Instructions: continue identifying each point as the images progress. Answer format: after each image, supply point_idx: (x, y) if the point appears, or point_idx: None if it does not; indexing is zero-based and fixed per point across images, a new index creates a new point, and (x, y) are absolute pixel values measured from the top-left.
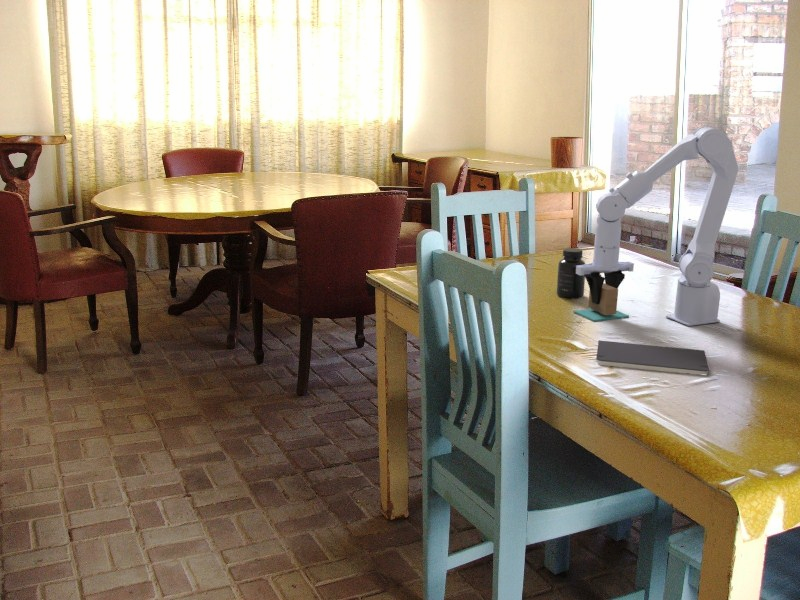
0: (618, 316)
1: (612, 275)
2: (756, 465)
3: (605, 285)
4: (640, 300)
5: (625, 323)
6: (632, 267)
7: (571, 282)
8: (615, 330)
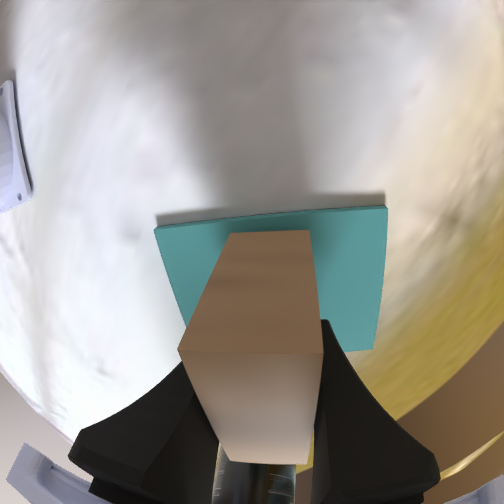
0: (213, 230)
1: (179, 491)
2: None
3: (242, 431)
4: (81, 362)
5: (223, 130)
6: (18, 464)
7: (274, 473)
8: (353, 33)
